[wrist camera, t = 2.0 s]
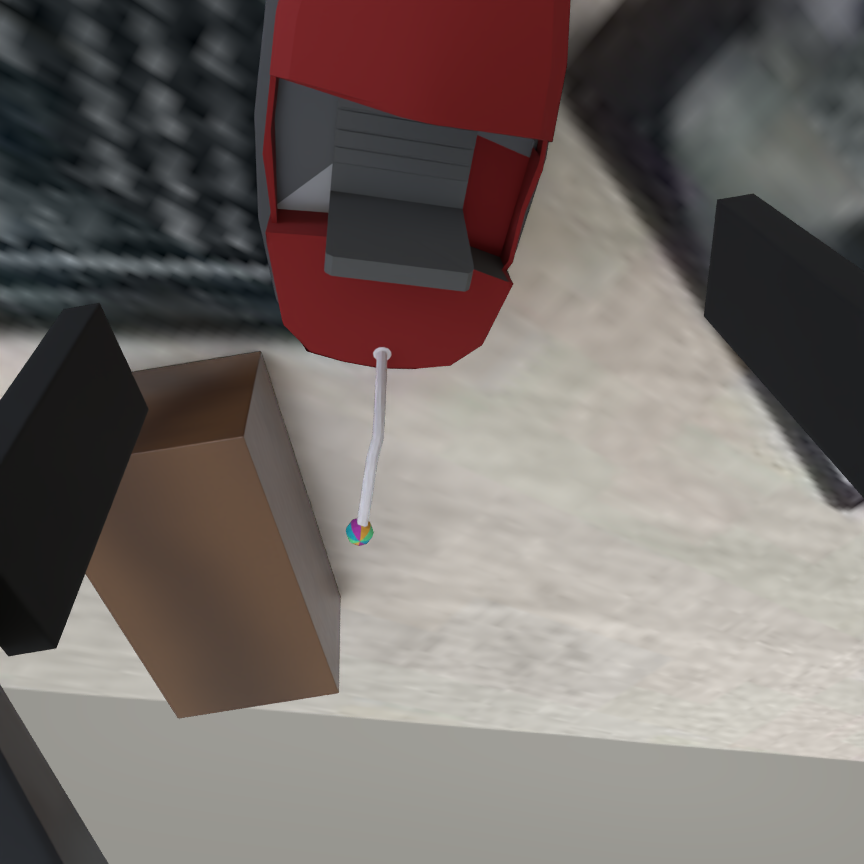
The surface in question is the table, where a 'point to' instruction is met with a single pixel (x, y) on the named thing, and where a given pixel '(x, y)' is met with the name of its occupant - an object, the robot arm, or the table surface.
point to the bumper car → (400, 173)
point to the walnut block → (219, 546)
